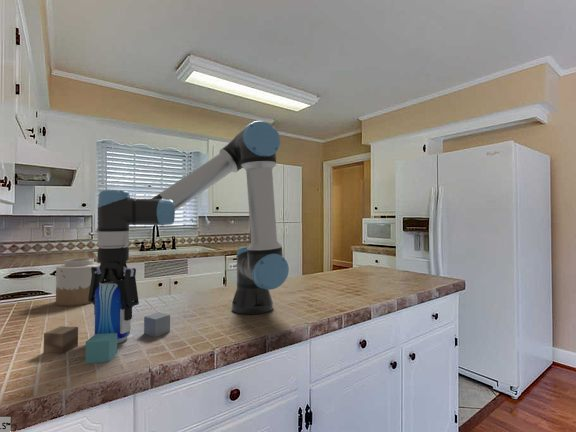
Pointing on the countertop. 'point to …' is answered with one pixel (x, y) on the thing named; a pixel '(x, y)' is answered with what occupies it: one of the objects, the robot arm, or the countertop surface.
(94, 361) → the teal cube
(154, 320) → the grey cube
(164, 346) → the countertop surface
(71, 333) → the walnut cube
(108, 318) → the beer can
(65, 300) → the vase
